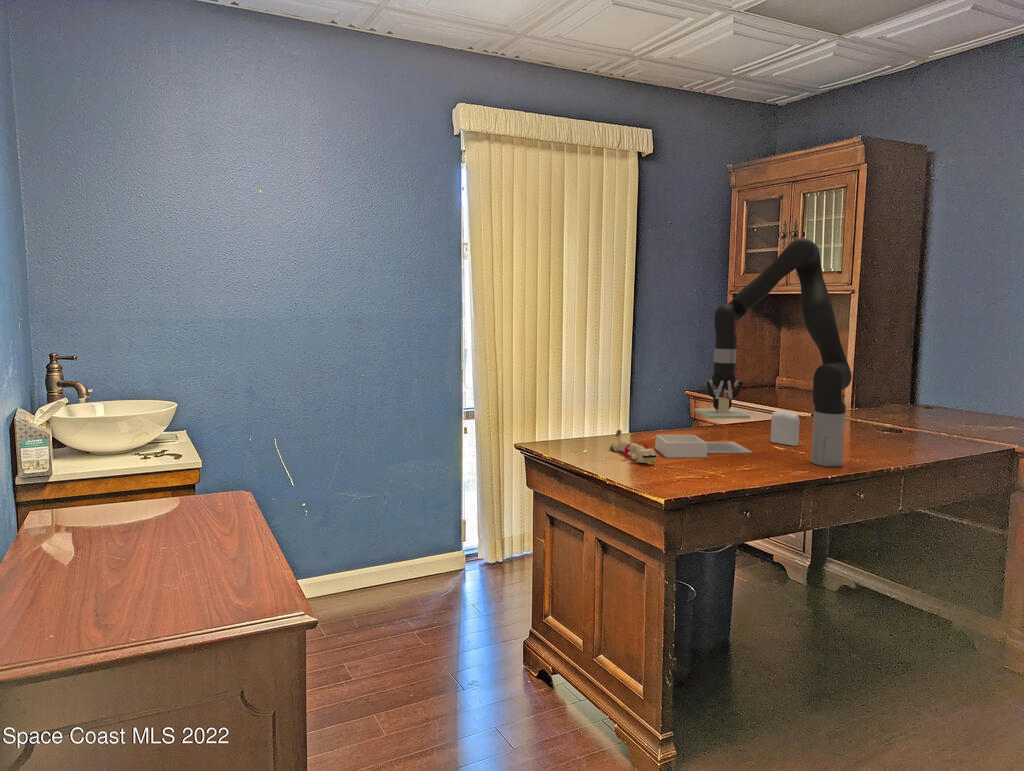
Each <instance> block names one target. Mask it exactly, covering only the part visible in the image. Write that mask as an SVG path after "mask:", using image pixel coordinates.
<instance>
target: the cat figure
mask: <svg viewBox="0 0 1024 771" xmlns="http://www.w3.org/2000/svg"><path fill="white" fill-rule="evenodd" d="M615 433H616V434H615V437H616V439H617V441H618V442H617V443H616V444H615V443H614V442H611V443H610V446H609V447H608V448H609V449H608V450H610V451H611V452H613V451H618V452H622V456H623V457H624V459H626V460H628V461H630V460H631V459H632V460H635V461H634V462H635V463H640V464H646V465H653V464H654V463H655V462H656V459H657V458H658V457H659V453H656V450H655V449H652V448H649V446H648V445H647V444H645V443H644V442H641V444H643V446H642V445H639V443H635V442H630V441H623V439H622V437H621V434H622V430H621V429H617V431H616V432H615ZM629 453H630V454H631V456H630V457H631V459H629Z"/></svg>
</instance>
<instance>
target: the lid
mask: <svg viewBox="0 0 1024 771" xmlns="http://www.w3.org/2000/svg"><path fill="white" fill-rule="evenodd" d="M718 399H719V402H718V409H715V408H700V407H699V408H697V407H695V408H694V409H693V410H694V412H695V413H696V414H699V415H702V416H703V417H705V418H706V419H732V420H733V419H734V420H735V419H736V420H737V419H739V420H740V419H743V420H745V419H746V420H747V419H749V420H750V419H751V415H749V414H747V413H746V412H742V411H741V410H738V409H736V408H730V409H729V399H728V398H727V397H720V396H719V398H718Z"/></svg>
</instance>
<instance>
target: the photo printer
mask: <svg viewBox="0 0 1024 771" xmlns="http://www.w3.org/2000/svg"><path fill="white" fill-rule="evenodd" d="M799 433H800V416H799V414H797V413H794V412H793V411H789V410H788V411H787V410H777V411H773V412H772V415H771V424H770V443H772V444H773V443H774V444H780V445H787V446H793V447H798V445H799V437H800V434H799Z"/></svg>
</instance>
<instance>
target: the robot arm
mask: <svg viewBox="0 0 1024 771" xmlns="http://www.w3.org/2000/svg"><path fill="white" fill-rule="evenodd" d="M794 270H796V273H797V277H798V280H799V284H800V308H801V312H802V317H803V321H804V325H805V328H806V331H807V332H808V334H809V336H810V337H811V339H812V341H813V342H814V344H815V346H816V347H817V348H818V351H819V354H820V357H821V361H822V364H821V365H818V367H817V368H816V369H815V372H814V374H813V382H812V403H813V405H814V410H813V412H814V413H813V426H812V442H811V453H810V454H811V456H810V462H811V463H812V464H814V465H818V466H822V467H843V458H844V446H845V438H844V433H845V422H846V421H845V419H846V408H847V407H846V404H845V403H844V401H843V399H842V392H843V390H845V389H846V388H848V387H849V385H851V382H852V378H853V376H852V371H851V367H850V365H849V363H848V360H847V358H846V354H845V352H844V349H843V345H842V343H841V338H840V333H839V329H838V326H837V321H836V320H837V319H836V316H835V312H834V308H833V305H832V301H831V297H830V295H829V291H828V289H827V286H826V283H825V279H824V276H823V271H822V270H823V269H822V263H821V254H820V249H819V247H818V245H817V244H816V243H815V242H813V241H812V240H810V239H807V238H805V237H804V238H803V237H799V238H796V239H793V240H792V241H791V242H790V243H789V244H788V245H787V246H786V247H785V248H784V250H782V252H780V254H779V255H778V256H777V257H776V258H775V260H774V261H773V262H772V263H771V264H770V265H769V266H767V268H765V269H764V271H762V272H761V273H760V274H759V275H757V276H756V277H755V278H754V279H753V280H752V281H750V282H749V283H748V284H747V285H746V286H744V287H743V288H742V289H741V290H740V291H739V292H737V294H736V296H735V297H734V298H733V299H732V300H730V302H728V303H727V304H723V305H720V306H718V307H717V309H716V310H715V313H714V329H715V344H714V345H715V347H714V353H713V365H712V367H713V368H712V370H713V371H712V377H711V379H709V380H704V382H703V383H704V386H705V389H706V392H707V396H708V397H711V398H712V408H713V409H718V402H719V399H718V398H719V397H720V393H721V392H722V390H724V391H725V394H726V398H728V399H729V409H732V400H733V399H734V398H737V397H739V393H740V391H741V389H742V386H743V385H744V384H743V383H744V382H743V381H741V380H738V379H737V378H736V377H735V376H736V363H737V361H736V360H737V351H736V349H737V334H736V333H735V323H737V322H738V321H739V320H740V319H741V318H742V317H744V316H745V314H747V313H748V311H749V310H750V309H752V308H753V307H755V306H756V305H757V304H758V303H760V302H761V301H762V300H763V299H764V298H765V297H767V296H768V295H769V294H770V293H771V292H772V291H773V290H774V288H775V287H776V286H777V285H778V283H779V282H780V281H781V280H783V278H785V277H786V276H788V275H789V274H790V273H791V272H793V271H794ZM713 385H714V390H713V389H712V386H713ZM733 386H734V388H733V389H732V387H733Z"/></svg>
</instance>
